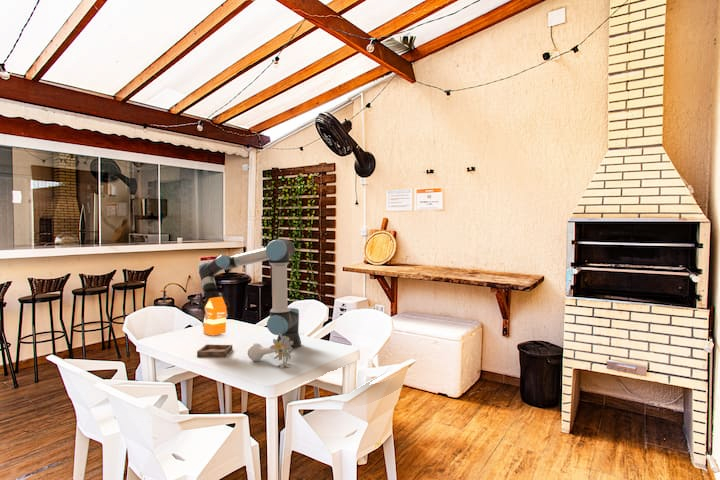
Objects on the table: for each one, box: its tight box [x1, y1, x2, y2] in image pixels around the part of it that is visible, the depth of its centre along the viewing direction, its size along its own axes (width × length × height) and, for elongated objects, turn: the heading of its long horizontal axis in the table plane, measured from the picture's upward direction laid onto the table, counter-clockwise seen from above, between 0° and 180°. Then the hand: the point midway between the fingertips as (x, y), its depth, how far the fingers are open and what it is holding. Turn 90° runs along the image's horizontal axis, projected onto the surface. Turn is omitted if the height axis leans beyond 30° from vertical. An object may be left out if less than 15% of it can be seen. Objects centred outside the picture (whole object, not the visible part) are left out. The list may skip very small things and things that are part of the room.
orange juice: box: [203, 296, 227, 336], centre depth 233 cm, size 8×9×20 cm
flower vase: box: [247, 333, 295, 369], centre depth 218 cm, size 13×18×25 cm
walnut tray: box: [196, 343, 233, 358], centre depth 233 cm, size 15×14×3 cm
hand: (216, 317), depth 230 cm, fingers closed on orange juice, 10 cm apart
